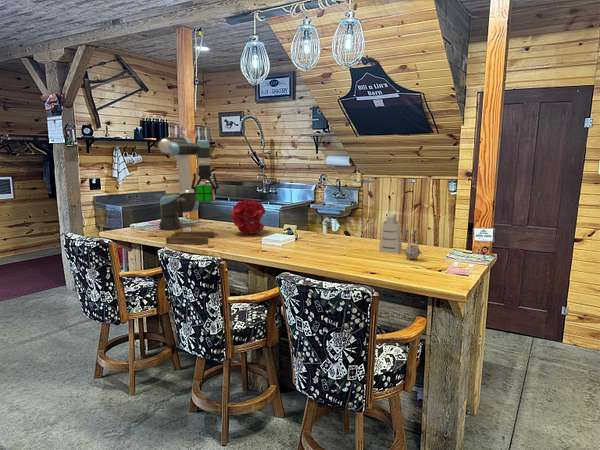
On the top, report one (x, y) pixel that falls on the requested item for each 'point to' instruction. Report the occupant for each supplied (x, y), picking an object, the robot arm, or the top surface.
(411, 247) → the game die
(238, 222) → the bouquet
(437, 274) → the top surface
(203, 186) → the puzzle cube
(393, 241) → the grater
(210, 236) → the brown wooden slab
